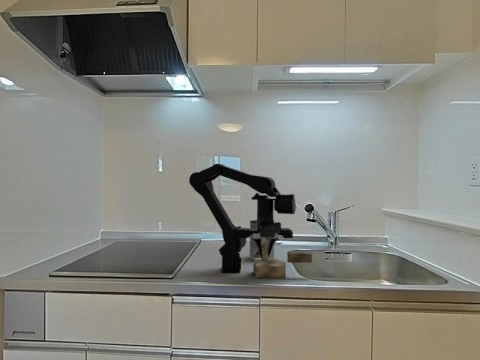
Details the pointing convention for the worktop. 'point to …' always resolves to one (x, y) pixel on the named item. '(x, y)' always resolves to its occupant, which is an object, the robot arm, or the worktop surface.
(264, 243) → the coffee box
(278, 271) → the open wooden box
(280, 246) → the worktop surface
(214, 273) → the worktop surface
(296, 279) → the worktop surface
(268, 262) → the lid
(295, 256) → the brown rectangular block
